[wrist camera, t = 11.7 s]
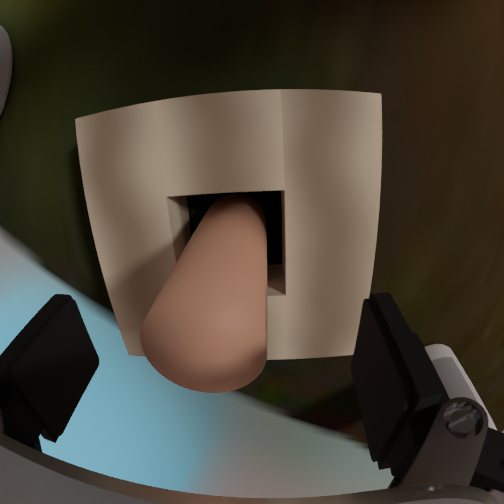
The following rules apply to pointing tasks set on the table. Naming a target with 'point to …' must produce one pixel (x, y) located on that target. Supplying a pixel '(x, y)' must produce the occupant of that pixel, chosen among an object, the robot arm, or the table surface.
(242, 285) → the peg
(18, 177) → the table surface
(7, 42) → the cylinder vase
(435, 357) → the spray bottle
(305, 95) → the socket block
